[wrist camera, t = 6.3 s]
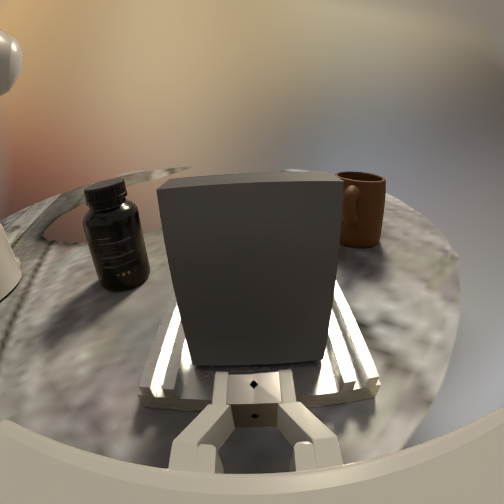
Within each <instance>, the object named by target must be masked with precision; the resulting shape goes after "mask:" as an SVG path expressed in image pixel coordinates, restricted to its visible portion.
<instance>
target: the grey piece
mask: <svg viewBox="0 0 504 504" xmlns="http://www.w3.org/2000/svg"><path fill="white" fill-rule="evenodd" d="M290 369H291V370H292V374H293V381H294V387H295V394H296V401H297V402H301V403H302V404H303V405H304V406H305V407H306V408H310V407H319V406H327V405H334V404H341V403H347V402H353V401H359V400H364V399H369V398H374V397H376V394H377V392H378V390H379V388H380V386H381V384H380V381H379V374H378V372H377V369H376V367H375V365H374V362H373V360H372V358H371V355H370V353H369V351H368V348H367V346H366V344H365V341H364V339H363V337H362V335H361V332H360V330H359V328H358V326H357V324H356V321H355V319H354V317H353V315H352V313H351V310H350V308H349V306H348V304H347V302H346V300H345V298H344V296H343V294H342V291H341V289H340V287H339V285H338V283H337V281H336V282H335V290H334V298H333V305H332V312H331V319H330V326H329V332H328V338H327V344H326V350H325V355H324V360H316V361H306V362H294V363H279V364H261V365H192V361H191V358H190V354H189V350H188V346H187V343H186V339H185V335H184V331H183V327H182V323H181V318H180V314H179V310H178V305H177V301H176V297H175V292H174V289H173V291H172V294H171V297H170V299H169V302H168V304H167V307H166V310H165V312H164V315H163V317H162V320H161V323H160V326H159V328H158V331H157V334H156V336H155V339H154V342H153V345H152V348H151V351H150V353H149V356H148V359H147V362H146V365H145V368H144V371H143V374H142V377H141V380H140V383H139V386H138V387H139V392H138V396H139V398H140V400H141V402H142V403H143V405H144V407H150V408H160V409H171V410H185V411H202V410H203V409H204V408H205V407H206V406H207V405H208V404H212V398H213V388H214V379H215V373H216V372H254V371H271V370H278V371H279V370H290Z"/></svg>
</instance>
